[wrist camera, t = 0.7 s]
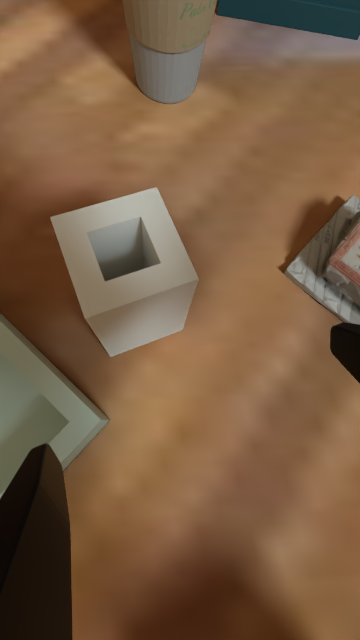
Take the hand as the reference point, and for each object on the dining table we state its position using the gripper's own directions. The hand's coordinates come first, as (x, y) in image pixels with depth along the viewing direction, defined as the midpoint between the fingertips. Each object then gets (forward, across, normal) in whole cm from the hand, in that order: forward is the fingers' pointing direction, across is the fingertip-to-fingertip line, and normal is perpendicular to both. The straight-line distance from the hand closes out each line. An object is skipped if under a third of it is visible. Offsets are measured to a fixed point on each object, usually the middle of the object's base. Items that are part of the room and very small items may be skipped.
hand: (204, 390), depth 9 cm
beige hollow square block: (+15, 0, +4) cm, 15 cm away
